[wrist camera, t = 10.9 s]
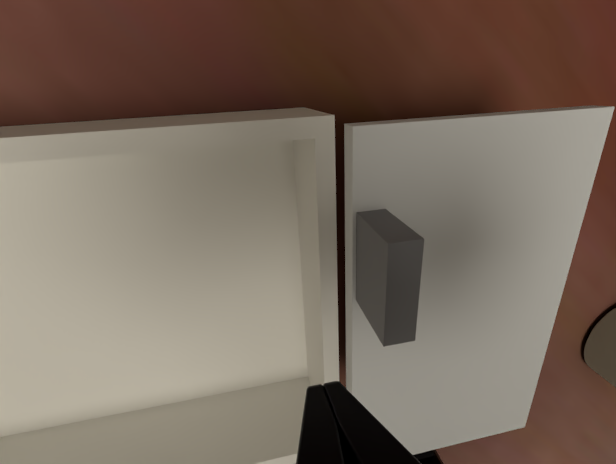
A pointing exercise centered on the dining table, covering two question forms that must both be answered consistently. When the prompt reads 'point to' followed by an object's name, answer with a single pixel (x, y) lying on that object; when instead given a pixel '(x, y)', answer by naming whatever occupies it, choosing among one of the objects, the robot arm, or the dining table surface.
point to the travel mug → (603, 348)
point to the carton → (166, 287)
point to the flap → (460, 263)
